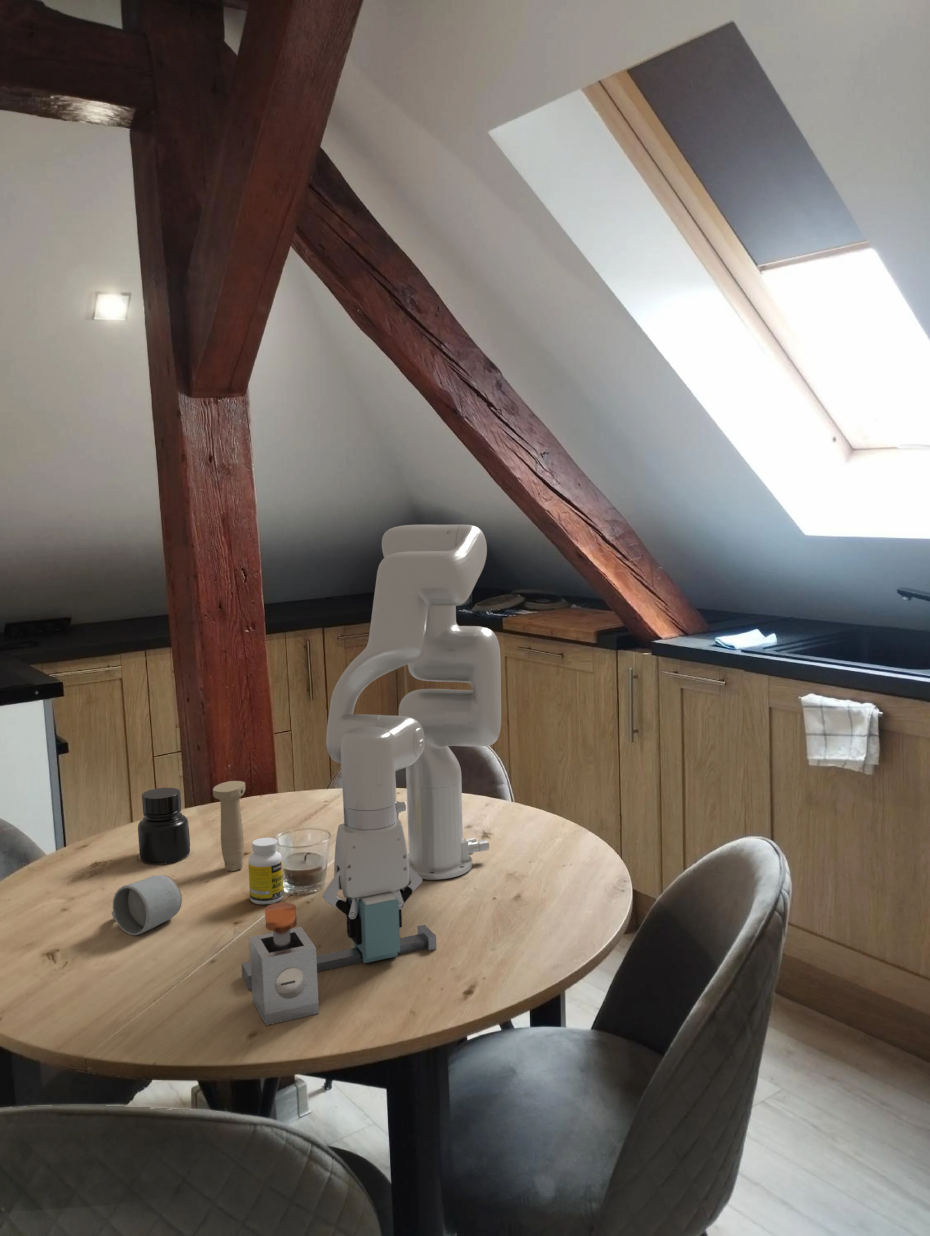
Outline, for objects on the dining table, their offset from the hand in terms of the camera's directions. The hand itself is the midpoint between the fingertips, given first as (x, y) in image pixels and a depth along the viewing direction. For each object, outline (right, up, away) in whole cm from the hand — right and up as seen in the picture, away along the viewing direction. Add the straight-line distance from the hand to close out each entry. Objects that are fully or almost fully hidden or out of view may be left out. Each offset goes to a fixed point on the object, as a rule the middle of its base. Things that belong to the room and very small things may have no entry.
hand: (374, 935), depth 156 cm
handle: (-28, +1, +35) cm, 45 cm away
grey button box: (-11, -5, -14) cm, 18 cm away
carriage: (0, -3, 0) cm, 3 cm away
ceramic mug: (-37, -2, +13) cm, 39 cm away
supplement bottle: (-19, -1, +22) cm, 29 cm away
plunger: (-11, 0, -15) cm, 18 cm away
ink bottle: (-42, +2, +42) cm, 59 cm away
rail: (-5, -3, -2) cm, 6 cm away
